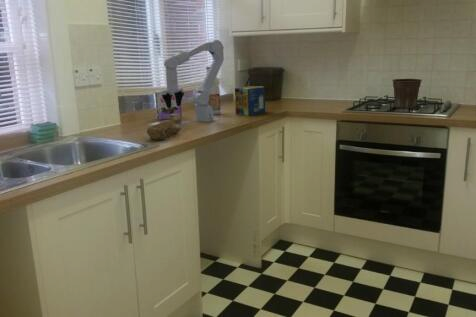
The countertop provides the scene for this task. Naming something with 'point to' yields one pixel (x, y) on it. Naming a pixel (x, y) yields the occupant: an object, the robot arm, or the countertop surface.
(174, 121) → the oak block
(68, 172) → the countertop surface
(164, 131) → the brown rounded lump
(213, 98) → the fruit juice
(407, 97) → the plant pot
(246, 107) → the protein box
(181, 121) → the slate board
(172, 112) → the candy box
